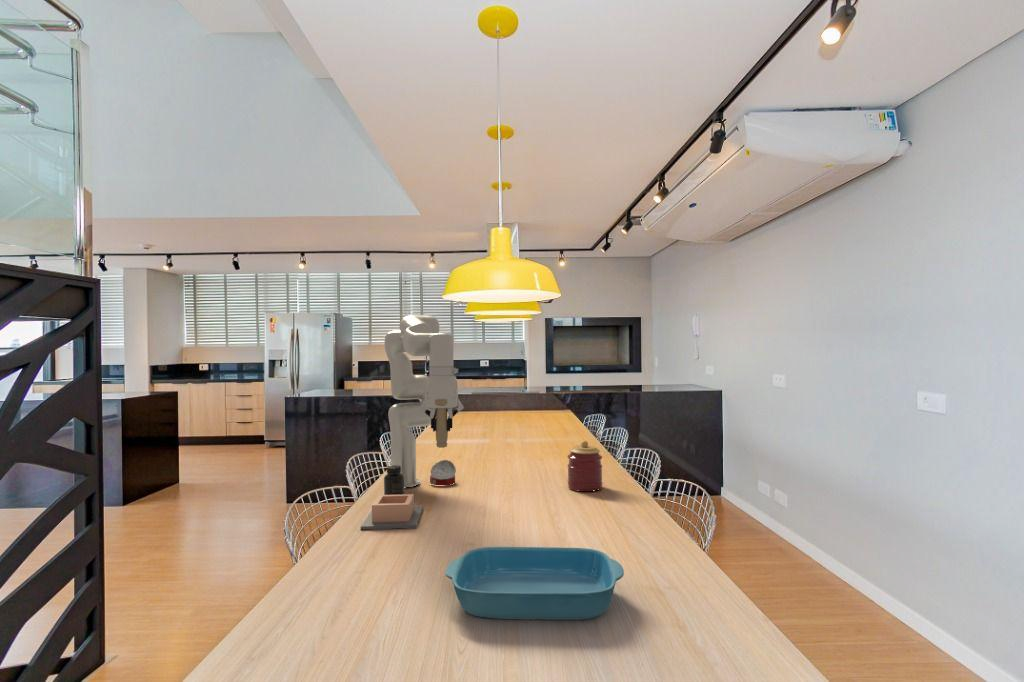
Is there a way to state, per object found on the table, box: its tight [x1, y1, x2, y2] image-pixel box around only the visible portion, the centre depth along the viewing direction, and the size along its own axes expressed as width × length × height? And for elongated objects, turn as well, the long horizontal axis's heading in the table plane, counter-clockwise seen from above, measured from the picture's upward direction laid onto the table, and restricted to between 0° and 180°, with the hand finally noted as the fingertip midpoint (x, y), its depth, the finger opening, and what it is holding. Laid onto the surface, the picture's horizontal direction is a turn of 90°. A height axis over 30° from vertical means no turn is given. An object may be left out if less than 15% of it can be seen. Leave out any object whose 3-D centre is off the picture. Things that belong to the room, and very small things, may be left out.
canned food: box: [429, 459, 457, 485], centre depth 202 cm, size 11×10×10 cm
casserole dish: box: [445, 546, 625, 621], centre depth 107 cm, size 37×22×7 cm, turn 86°
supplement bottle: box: [383, 465, 405, 495], centre depth 178 cm, size 7×7×12 cm
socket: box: [360, 493, 424, 530], centre depth 159 cm, size 18×16×6 cm
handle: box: [435, 400, 449, 449], centre depth 162 cm, size 5×6×15 cm
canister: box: [566, 440, 604, 492], centre depth 193 cm, size 13×13×18 cm
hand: (441, 430), depth 162 cm, fingers closed on handle, 3 cm apart
